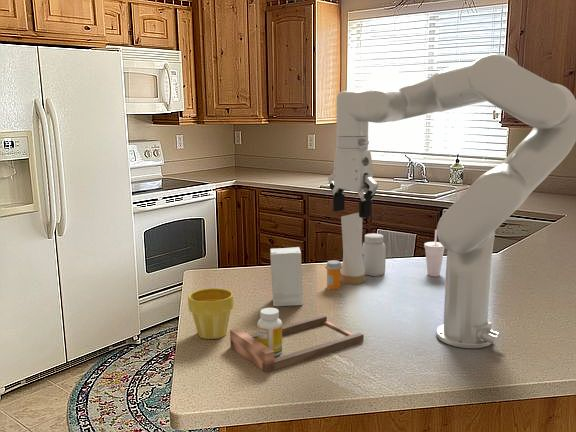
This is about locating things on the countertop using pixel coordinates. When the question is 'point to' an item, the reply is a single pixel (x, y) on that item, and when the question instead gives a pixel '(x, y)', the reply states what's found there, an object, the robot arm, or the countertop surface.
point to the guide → (265, 355)
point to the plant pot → (211, 311)
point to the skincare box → (286, 276)
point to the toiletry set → (356, 255)
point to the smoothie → (434, 256)
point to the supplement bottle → (270, 330)
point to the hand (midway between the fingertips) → (351, 213)
